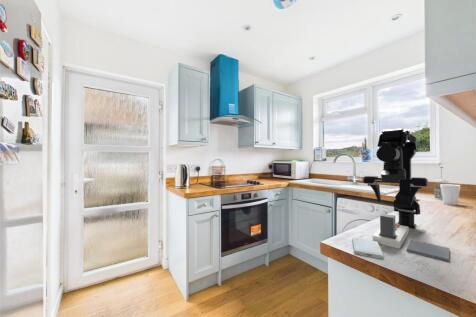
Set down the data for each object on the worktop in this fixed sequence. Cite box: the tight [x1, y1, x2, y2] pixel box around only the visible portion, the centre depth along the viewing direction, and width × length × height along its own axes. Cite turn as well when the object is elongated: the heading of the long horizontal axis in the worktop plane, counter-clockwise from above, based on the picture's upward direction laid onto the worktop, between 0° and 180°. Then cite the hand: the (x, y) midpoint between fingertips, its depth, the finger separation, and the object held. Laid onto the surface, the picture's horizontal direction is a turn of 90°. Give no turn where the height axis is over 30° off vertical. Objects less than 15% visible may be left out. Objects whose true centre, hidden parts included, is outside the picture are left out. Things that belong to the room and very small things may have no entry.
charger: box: [379, 213, 396, 239], centre depth 76 cm, size 4×4×10 cm
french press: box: [432, 166, 450, 201], centre depth 154 cm, size 10×12×25 cm
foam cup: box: [439, 183, 461, 206], centre depth 138 cm, size 10×9×13 cm
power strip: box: [372, 222, 410, 250], centre depth 81 cm, size 22×8×3 cm, turn 133°
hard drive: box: [351, 237, 385, 260], centre depth 71 cm, size 2×8×12 cm
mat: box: [406, 239, 450, 263], centre depth 69 cm, size 11×10×1 cm
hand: (394, 203), depth 76 cm, fingers open, 9 cm apart
